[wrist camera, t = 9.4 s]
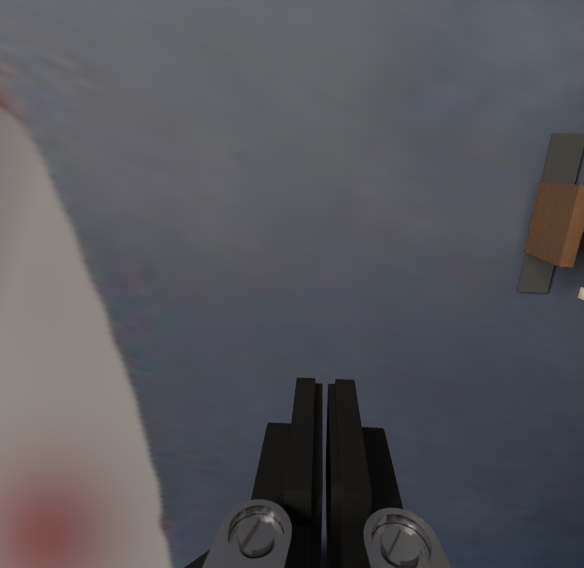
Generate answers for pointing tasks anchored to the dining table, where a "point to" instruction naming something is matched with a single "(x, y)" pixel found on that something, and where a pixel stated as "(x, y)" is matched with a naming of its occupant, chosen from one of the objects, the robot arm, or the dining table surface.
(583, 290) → the tunnel
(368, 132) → the dining table surface
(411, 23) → the dining table surface
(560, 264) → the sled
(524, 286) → the strip
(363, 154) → the dining table surface
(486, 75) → the dining table surface
